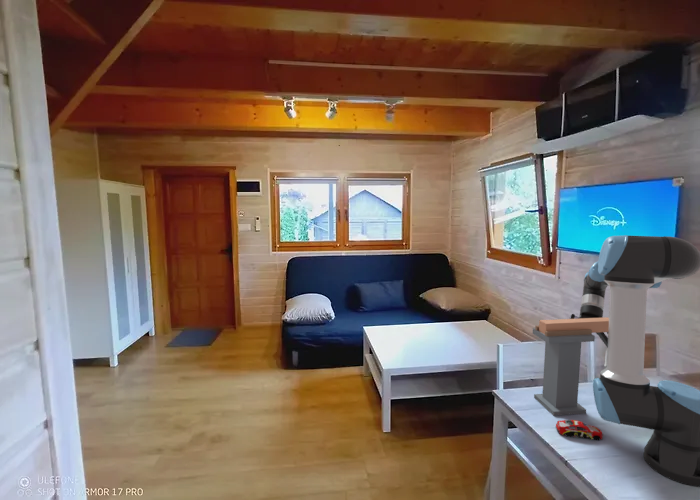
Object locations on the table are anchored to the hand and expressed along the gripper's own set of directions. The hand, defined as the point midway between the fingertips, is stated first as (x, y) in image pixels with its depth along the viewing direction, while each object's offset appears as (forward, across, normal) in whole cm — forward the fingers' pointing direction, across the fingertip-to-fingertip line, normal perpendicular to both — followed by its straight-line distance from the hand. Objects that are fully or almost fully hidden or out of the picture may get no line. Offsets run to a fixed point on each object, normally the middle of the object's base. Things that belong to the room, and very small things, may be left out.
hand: (585, 360), depth 140 cm
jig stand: (+18, +6, -4) cm, 19 cm away
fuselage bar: (-6, +6, +11) cm, 14 cm away
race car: (+28, +1, +9) cm, 30 cm away
